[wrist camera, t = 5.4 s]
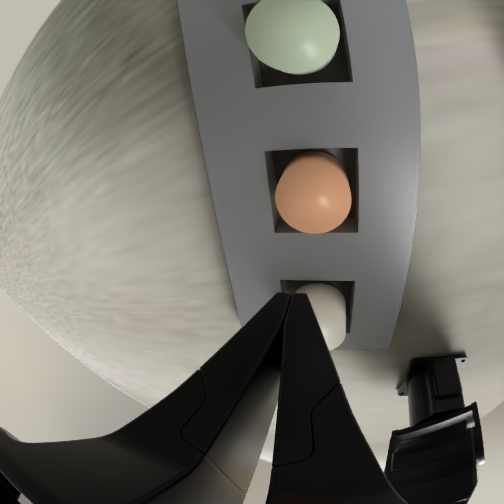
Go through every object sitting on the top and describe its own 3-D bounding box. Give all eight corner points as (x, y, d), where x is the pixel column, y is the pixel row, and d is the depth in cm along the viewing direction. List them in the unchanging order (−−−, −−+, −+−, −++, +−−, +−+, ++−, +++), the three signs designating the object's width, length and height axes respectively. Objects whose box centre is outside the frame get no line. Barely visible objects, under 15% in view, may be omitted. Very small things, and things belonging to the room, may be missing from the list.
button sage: (341, 73, 12) (345, 69, 10) (264, 78, 13) (252, 77, 11) (330, 5, 10) (331, -12, 8) (253, 12, 11) (239, -1, 9)
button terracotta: (348, 212, 17) (351, 233, 15) (285, 213, 19) (279, 234, 16) (346, 150, 15) (350, 161, 13) (279, 152, 17) (270, 164, 14)
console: (387, 331, 22) (389, 349, 21) (251, 327, 25) (245, 344, 24) (390, -20, 9) (397, -31, 7) (191, 0, 12) (176, -7, 11)
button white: (343, 324, 21) (343, 353, 18) (291, 323, 22) (286, 351, 20) (347, 283, 19) (347, 312, 16) (288, 282, 20) (282, 310, 17)
